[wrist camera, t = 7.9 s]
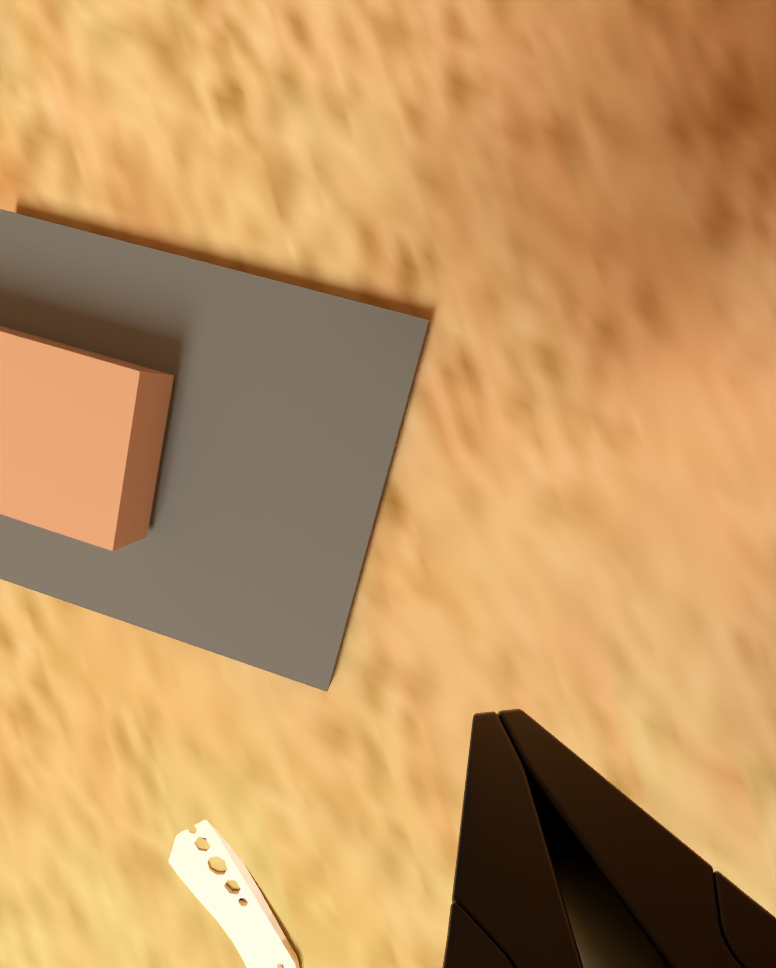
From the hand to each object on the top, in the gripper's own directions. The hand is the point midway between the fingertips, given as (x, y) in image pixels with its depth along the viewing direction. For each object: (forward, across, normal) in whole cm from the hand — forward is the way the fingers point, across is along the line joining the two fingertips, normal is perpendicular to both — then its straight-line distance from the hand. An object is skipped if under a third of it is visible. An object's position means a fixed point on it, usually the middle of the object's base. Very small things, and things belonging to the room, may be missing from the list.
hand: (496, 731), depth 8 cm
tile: (+11, +11, -4) cm, 16 cm away
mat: (+13, +10, -4) cm, 17 cm away
